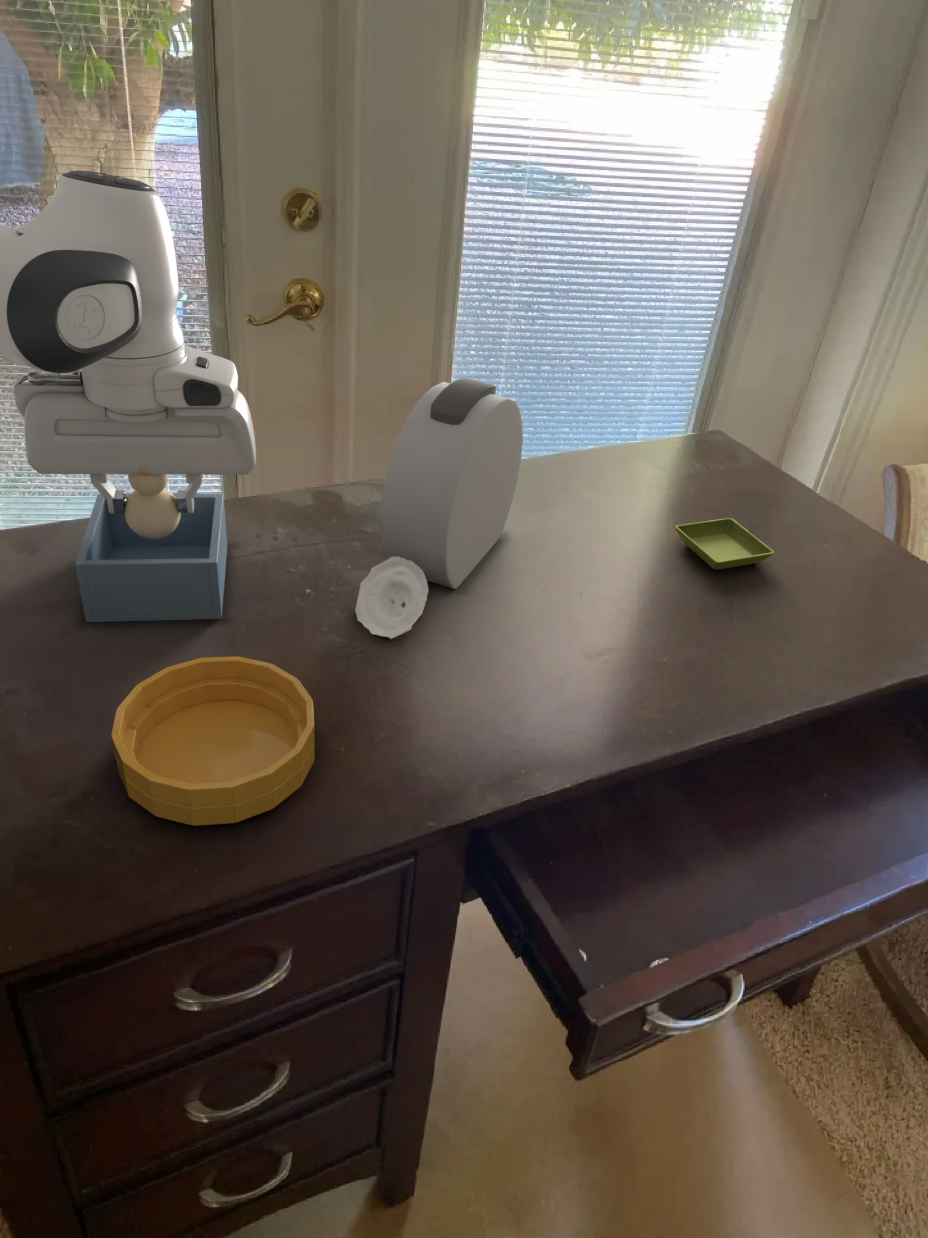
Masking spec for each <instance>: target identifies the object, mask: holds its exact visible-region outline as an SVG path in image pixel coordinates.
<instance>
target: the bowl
mask: <svg viewBox="0 0 928 1238" xmlns="http://www.w3.org/2000/svg"><path fill="white" fill-rule="evenodd" d="M110 736H111V737H110V738H111V743H112V747H113V753H114V758H115V764H116V768H117V773H118V775H119V777H120V780H121V782H122V785H123V787H124V789H125V791H126V794H127V796H128V797H129V798H130V799H131V800H132V801H134V802H135V803H137V804H138V805H139V806H141V807H142V808H143V809H145V810H146V811H147V812H148V813H150V814H151V815H153V816H155V817H157V818H161V819H164V820H168V821H173V822H177V823H179V824H180V823H181V824H184V825H188V826H194V827H196V826H197V827H198V826H211V825H225V824H227V825H228V824H235V823H239V822H242V821H245V820H247V819H250V818H252V817H255V816H258V815H260V814H263V813H267V812H268V811H271V810H273V809H275V808H276V807H277V806H279V804H281V803H282V802H283V801H285V800H286V799H287V798H288V797H290V796H291V795H292V794H293V793H294V792H296V791H297V790H298V789H300V787H302V785H303V784H304V782H305V780H306V778H307V776H308V774H309V772H310V770H311V769H312V766H313V764H314V762H315V760H316V757H315V755H316V754H315V752H316V751H315V746H316V745H315V744H316V743H315V741H316V740H315V713H314V700H313V698H312V697H311V695H310V694H309V692H308V690H307V689H306V688H305V687H304V686H303V684H302V683H301V681H300V680H299V678H297V677H296V676H294V675H292V674H290V673H289V672H287V671H285V670H284V669H282V668H280V667H279V666H277V665H275V664H274V663H271V662H266V661H262V660H257V659H252V658H248V657H243V656H208V657H207V656H206V657H199V658H195V659H192V660H188V661H184V662H181V663H177V664H173V665H170V666H166V667H164V668H163V669H161V670H160V671H158V672H156V673H154V674H153V675H151V676H149V677H148V678H146V679H144V680H142V681H140V682H139V683H137V684H136V685H135V686H134V687H133V688H132V690H130V692H129V693H128V694H127V696H126V697H125V698H124V699H123V700H122V702H120V704H119V705H118V706H117V707H116V711H115V716H114V720H113V724H112V730H111V734H110Z"/></svg>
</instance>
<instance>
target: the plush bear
mask: <svg viewBox="0 0 928 1238" xmlns="http://www.w3.org/2000/svg"><path fill="white" fill-rule="evenodd" d="M127 479H128V482H129V485H130V487H131V488H132V489H133V490H134V491H133V492H131V493H130V494H131V495H130V496H129V498H128V499H127V501H126V504H125V519H126V521H127V523H128V525H129V527H130V528H131V529H132V530H133V531H134V532H135V533H136V534H138V535H140V536H142V537H144V538H148V539H159V538H163V537H166V536H168V535H169V534H171V533H172V532H173V531H174V530H175V529H176V527H177V526H178V524H179V521H180V516H181V513H178V512H177V503H176V498H175V496H174V495H173V494H174V493H172V492H171V491H169V490H168V489H166V487H167V486H168V482H169V474H150V470H149V469H148V468H146V467H141V468H140V469H139V474H127Z"/></svg>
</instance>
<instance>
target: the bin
mask: <svg viewBox="0 0 928 1238" xmlns="http://www.w3.org/2000/svg"><path fill="white" fill-rule="evenodd" d="M131 494H132V493H126V498H125V499H126V500H127V499H128V498H129V496H130V495H131ZM172 494H173V495H174V496H175V498H176V496H177V493H172ZM226 522H227V521H226V509H225V497H224V493H196V494H195V496H194V511H193V513H181V516H180V521H179V524H178V526H177V527H176V529H175V530H174V531H173V532H172V533H171V534H169V535H168V536H166V537H163V538H159V539H148V538H144V537H142V536H140V535H138V534H136V533H135V532H134V531H133V530H132V529H131V528H130V527H129V525H128V523H127V521H126V519H125V513H109V510H108V504H107V499H106V498H104V497H103V496H102V494H101V493H98V494H97V495H96V499H95V501H94V504H93V508H92V511H91V514H90V517H89V520H88V523H87V527H86V529H85V532H84V535H83V538H82V541H81V544H80V547H79V550H78V553H77V557H76V559H75V563H74V569H75V574H76V578H77V583H78V589H79V595H80V598H81V599H80V600H81V605H82V609H83V615H84V619H85V622H86V623H109V622H110V623H111V622H113V623H115V622H153V621H192V620H193V621H195V620H222V618H223V607H224V606H223V605H224V596H225V595H224V593H225V580H226V570H227V569H226V568H227V555H228V539H227V526H226V525H227V524H226Z"/></svg>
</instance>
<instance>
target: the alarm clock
mask: <svg viewBox="0 0 928 1238" xmlns="http://www.w3.org/2000/svg"><path fill="white" fill-rule="evenodd" d="M496 389H497V387H496V386H495V385H494V384H493V383H489V382H485V381H483V380H479V379H478V380H477V379H473V378H469V377H462V378H458V379H456V380H453V382H446V381H442V382H440V383H438V384H435V385H433V386H431V387H430V388H429V389H428V390H427V391H426V392H425V393H424V394H423V395H422V396H421V397H420V398H419V399H418V401H417V403H416V404H415V405H414V408H413V409H412V410H411V412H410V414H409V415H408V417H407V418H406V421H405V423H404V425H403V427H402V430H401V432H400V434H399V436H398V438H397V440H396V443H395V446H394V449H393V451H392V455H391V458H390V461H389V464H388V467H387V472H386V477H385V481H384V487H383V490H382V495H381V505H380V515H379V533H380V536H379V537H380V538H379V539H380V544H381V549H382V554H383V558H384V559H385V561H386V560H388V559H389V558H391V557H392V556H393V557H401V558H402V559H403V558H405V559H406V560H411V561H412V562H414V563H415V564H416V565H417V566H418V567H420V569H422V570H423V572H424V575H425V577H426V580H427V582H430V583H434V584H437V585H440V586H443V587H446V588H449V589H453V590H457V589H458V588H459V587H460V585H461V584H462V583H463V582H464V581H465V580H466V578H467V577H468V576H469V575H470V574H471V573H472V571H473V570H474V569H475V568H476V567H477V565H478V564H479V563H480V562H481V561H482V560H483V558H484V557H485V556H486V555H487V554H488V553H489V551H490V550H491V549H492V548H493V547H494V546H495V544H496V543H497V542H498V540H500V538H501V535H502V532H503V530H504V528H505V525H506V522H507V519H508V516H509V513H510V510H511V507H512V503H513V500H514V497H515V492H516V488H517V484H518V479H519V473H520V470H521V469H520V468H521V463H522V453H523V444H524V423H523V418H522V412H521V408H520V407H519V405H518V404H517V402H516V401H515V400H514V398H510V397H505V396H502V395H498V394H496Z"/></svg>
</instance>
